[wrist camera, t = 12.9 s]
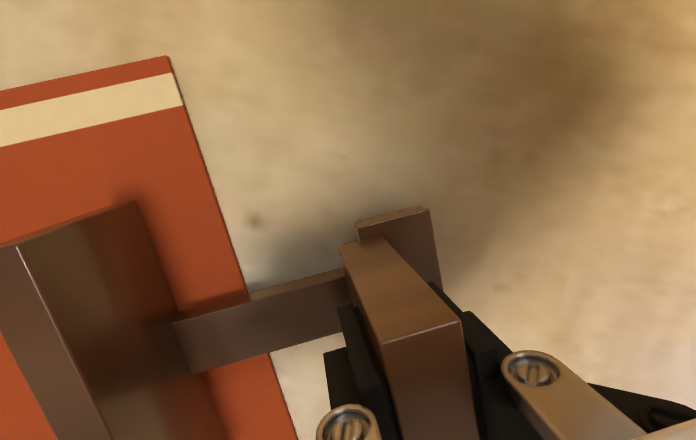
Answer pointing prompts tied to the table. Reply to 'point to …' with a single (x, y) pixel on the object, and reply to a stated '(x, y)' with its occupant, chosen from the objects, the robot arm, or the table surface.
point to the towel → (117, 187)
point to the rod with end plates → (217, 328)
